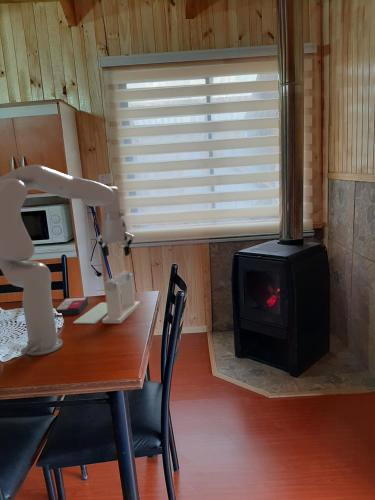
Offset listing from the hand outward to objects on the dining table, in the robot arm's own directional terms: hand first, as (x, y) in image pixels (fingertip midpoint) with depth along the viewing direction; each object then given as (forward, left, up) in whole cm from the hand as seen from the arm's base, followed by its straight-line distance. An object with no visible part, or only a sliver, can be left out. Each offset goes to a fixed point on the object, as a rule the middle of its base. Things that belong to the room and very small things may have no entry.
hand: (117, 255), depth 157 cm
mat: (0, +12, -26) cm, 29 cm away
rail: (0, 0, -13) cm, 13 cm away
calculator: (+4, +27, -27) cm, 38 cm away
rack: (0, 0, -26) cm, 26 cm away
